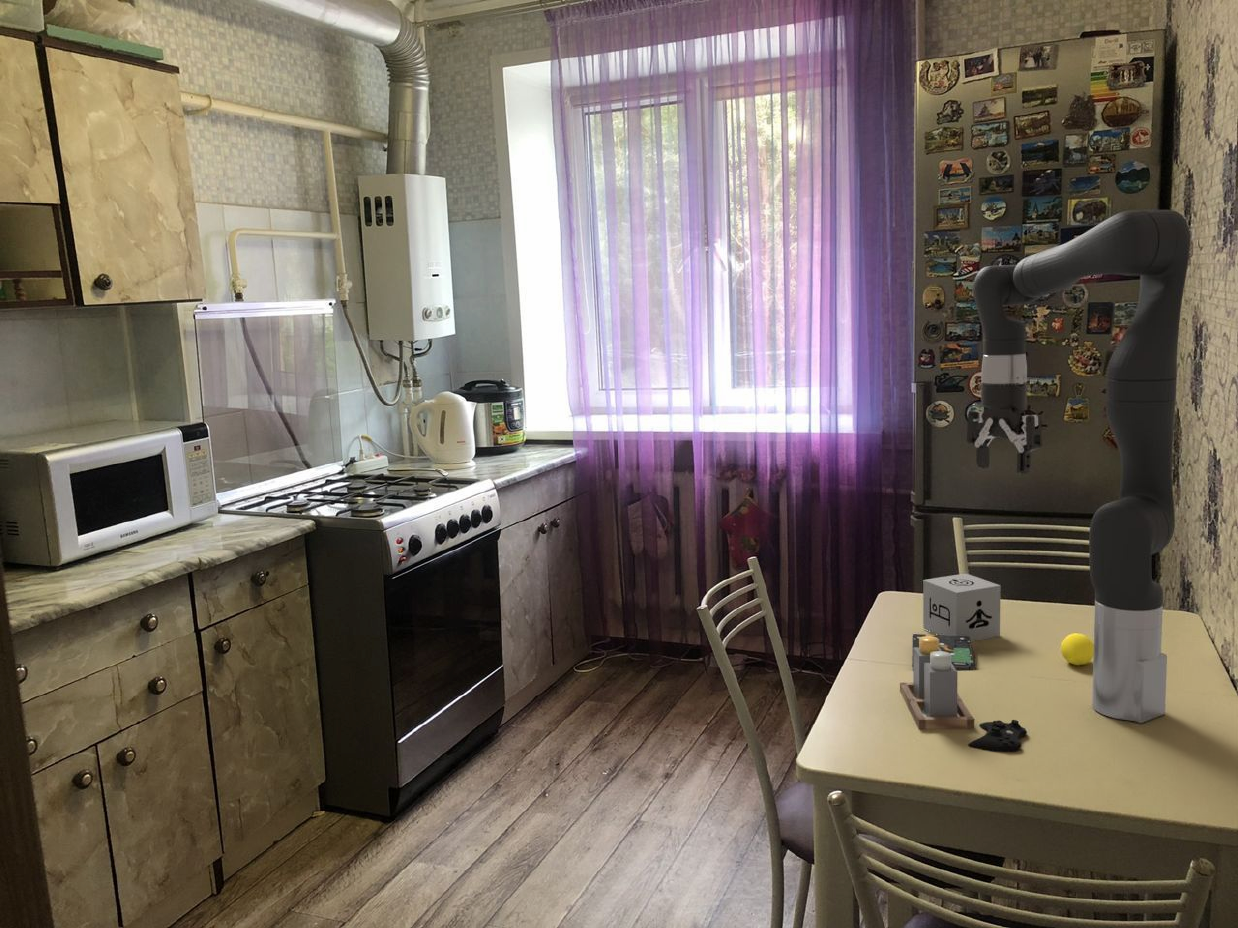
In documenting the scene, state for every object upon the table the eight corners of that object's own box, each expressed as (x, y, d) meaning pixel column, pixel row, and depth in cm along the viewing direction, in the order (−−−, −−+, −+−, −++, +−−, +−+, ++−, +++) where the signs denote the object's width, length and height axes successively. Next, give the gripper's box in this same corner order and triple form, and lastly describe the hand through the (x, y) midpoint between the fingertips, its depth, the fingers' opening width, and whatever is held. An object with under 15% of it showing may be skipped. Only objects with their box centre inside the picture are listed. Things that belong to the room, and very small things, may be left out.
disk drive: (911, 647, 190) (912, 675, 176) (911, 633, 190) (912, 659, 176) (969, 650, 188) (975, 677, 173) (969, 635, 187) (975, 662, 173)
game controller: (974, 723, 152) (1015, 704, 148) (993, 752, 151) (1035, 735, 147) (959, 748, 144) (1003, 729, 140) (980, 780, 143) (1024, 761, 139)
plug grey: (950, 712, 155) (951, 649, 154) (957, 722, 151) (957, 658, 150) (924, 712, 156) (924, 650, 154) (929, 723, 152) (929, 659, 150)
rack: (950, 697, 164) (950, 682, 164) (974, 736, 149) (974, 719, 149) (900, 698, 165) (899, 682, 164) (918, 736, 150) (918, 719, 150)
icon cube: (923, 629, 199) (923, 580, 197) (965, 621, 202) (965, 573, 200) (956, 644, 189) (956, 592, 188) (1000, 636, 193) (1000, 585, 191)
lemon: (1092, 674, 173) (1093, 645, 172) (1058, 669, 176) (1058, 641, 174) (1096, 655, 179) (1096, 627, 177) (1062, 652, 181) (1063, 624, 180)
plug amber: (938, 694, 162) (938, 634, 161) (945, 704, 158) (945, 643, 157) (913, 695, 163) (913, 635, 161) (919, 704, 159) (919, 643, 157)
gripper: (957, 380, 183) (956, 468, 185) (1023, 383, 171) (1022, 477, 173) (985, 377, 187) (985, 463, 189) (1052, 380, 174) (1051, 472, 177)
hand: (1002, 470), depth 181 cm, fingers open, 8 cm apart
